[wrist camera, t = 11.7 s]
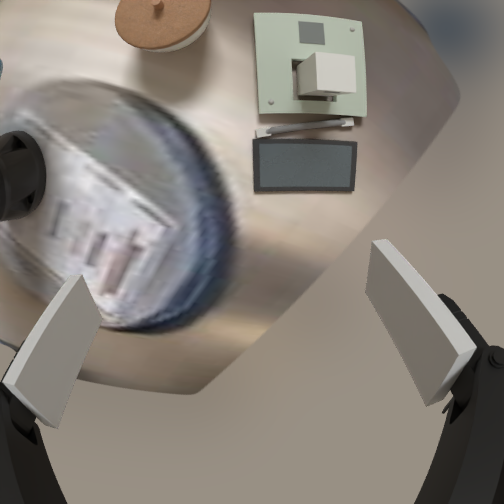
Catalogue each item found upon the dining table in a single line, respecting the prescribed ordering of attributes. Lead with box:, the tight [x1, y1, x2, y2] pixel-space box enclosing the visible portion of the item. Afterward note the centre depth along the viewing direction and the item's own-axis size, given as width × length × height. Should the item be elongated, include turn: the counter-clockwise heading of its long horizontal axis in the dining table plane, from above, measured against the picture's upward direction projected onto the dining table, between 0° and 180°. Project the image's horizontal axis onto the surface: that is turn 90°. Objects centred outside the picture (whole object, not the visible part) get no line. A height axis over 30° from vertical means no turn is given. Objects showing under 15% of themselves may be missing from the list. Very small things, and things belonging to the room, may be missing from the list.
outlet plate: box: [253, 13, 367, 117], centre depth 29 cm, size 14×14×2 cm
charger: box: [297, 52, 356, 96], centre depth 26 cm, size 4×4×10 cm
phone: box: [253, 139, 357, 191], centre depth 36 cm, size 14×7×1 cm, turn 91°
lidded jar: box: [115, 0, 212, 52], centre depth 22 cm, size 11×11×9 cm
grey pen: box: [256, 117, 354, 138], centre depth 33 cm, size 13×1×1 cm, turn 101°
